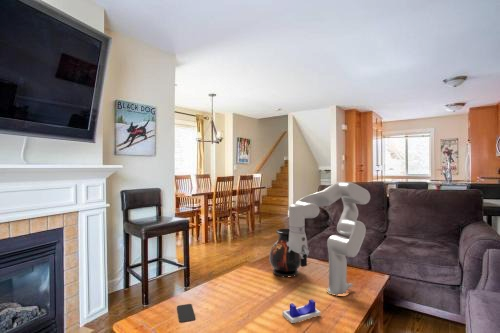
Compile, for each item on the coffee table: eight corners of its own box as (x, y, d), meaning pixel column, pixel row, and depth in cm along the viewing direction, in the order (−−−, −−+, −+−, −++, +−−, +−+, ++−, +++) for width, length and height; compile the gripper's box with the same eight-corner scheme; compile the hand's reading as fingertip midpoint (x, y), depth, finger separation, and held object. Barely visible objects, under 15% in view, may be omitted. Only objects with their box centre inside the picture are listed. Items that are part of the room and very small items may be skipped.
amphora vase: (264, 269, 190) (264, 228, 190) (293, 265, 196) (293, 226, 196) (276, 281, 169) (277, 235, 169) (308, 277, 176) (308, 233, 175)
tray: (310, 308, 138) (310, 304, 138) (320, 316, 131) (320, 311, 131) (282, 315, 131) (282, 311, 131) (292, 324, 124) (292, 319, 124)
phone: (179, 322, 125) (176, 305, 139) (179, 324, 125) (176, 307, 139) (196, 319, 127) (191, 303, 141) (195, 321, 127) (191, 305, 141)
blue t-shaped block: (309, 310, 135) (309, 297, 135) (315, 314, 131) (315, 302, 131) (288, 314, 131) (288, 302, 131) (293, 319, 127) (293, 306, 127)
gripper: (314, 231, 133) (315, 267, 134) (292, 224, 149) (293, 256, 149) (301, 234, 130) (302, 270, 130) (281, 226, 145) (281, 259, 146)
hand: (297, 263), depth 140 cm, fingers open, 9 cm apart
